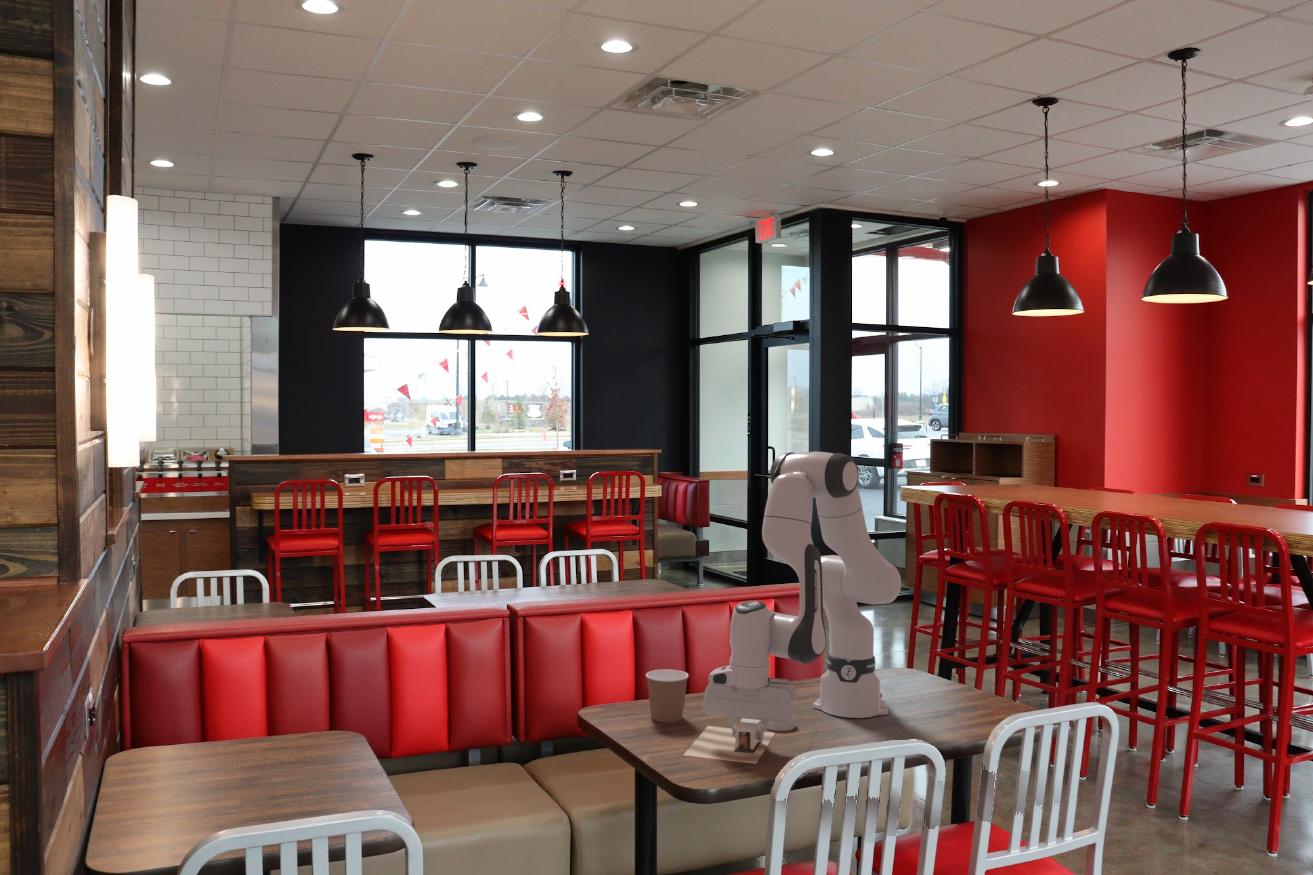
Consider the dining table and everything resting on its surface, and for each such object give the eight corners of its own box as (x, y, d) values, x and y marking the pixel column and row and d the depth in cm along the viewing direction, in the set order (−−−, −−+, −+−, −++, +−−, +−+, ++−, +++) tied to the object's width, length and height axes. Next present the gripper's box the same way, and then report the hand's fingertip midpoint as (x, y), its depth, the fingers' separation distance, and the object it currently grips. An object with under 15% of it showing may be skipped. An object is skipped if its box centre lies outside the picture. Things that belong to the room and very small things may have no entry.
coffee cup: (696, 725, 246) (697, 675, 246) (662, 733, 240) (663, 682, 239) (670, 715, 254) (670, 667, 254) (636, 722, 248) (637, 673, 248)
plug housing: (743, 736, 231) (743, 717, 231) (760, 738, 230) (760, 718, 230) (732, 751, 221) (732, 731, 220) (750, 753, 219) (750, 733, 219)
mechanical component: (754, 738, 238) (798, 741, 236) (755, 719, 238) (798, 722, 236) (758, 725, 248) (800, 728, 246) (759, 707, 247) (800, 709, 246)
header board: (707, 732, 241) (708, 713, 241) (775, 739, 236) (775, 719, 236) (682, 762, 220) (683, 741, 220) (756, 770, 215) (756, 749, 215)
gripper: (798, 676, 226) (797, 738, 227) (708, 668, 232) (707, 729, 233) (793, 683, 220) (792, 747, 221) (701, 675, 226) (700, 737, 227)
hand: (748, 737), depth 227 cm, fingers closed on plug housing, 4 cm apart
